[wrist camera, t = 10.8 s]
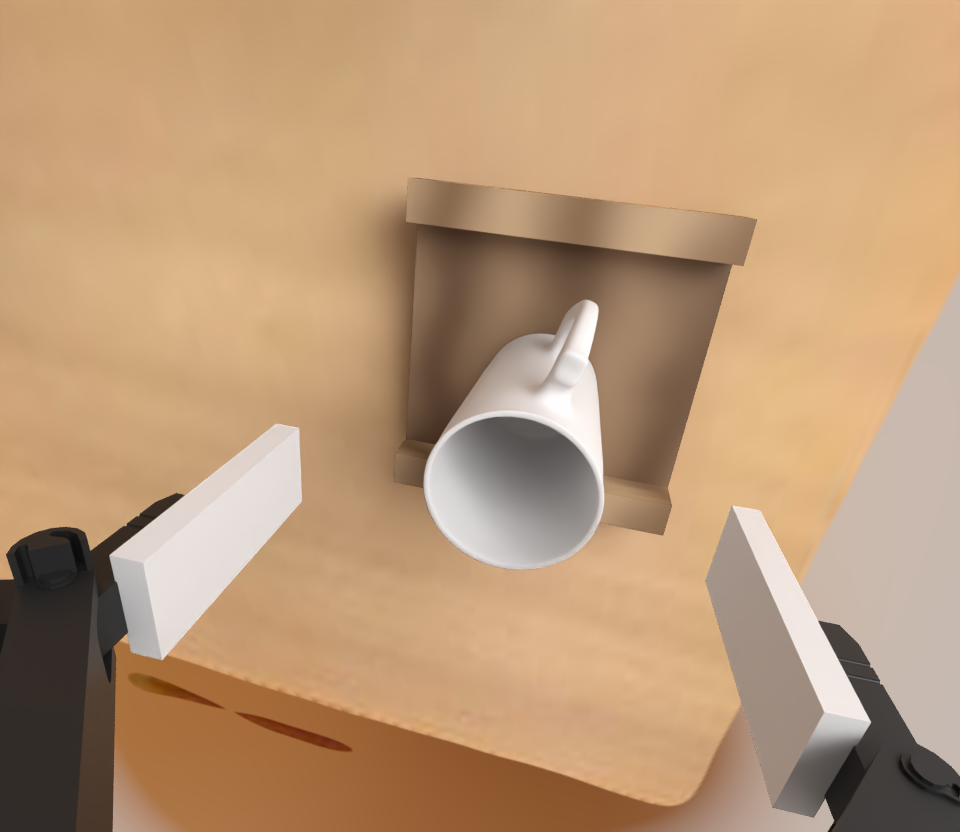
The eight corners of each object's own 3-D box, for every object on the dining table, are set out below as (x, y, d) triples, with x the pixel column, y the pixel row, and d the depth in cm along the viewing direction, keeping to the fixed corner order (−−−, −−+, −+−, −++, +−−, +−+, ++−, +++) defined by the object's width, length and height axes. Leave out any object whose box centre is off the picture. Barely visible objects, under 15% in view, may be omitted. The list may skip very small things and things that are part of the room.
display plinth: (416, 449, 37) (394, 482, 33) (433, 178, 30) (407, 177, 26) (655, 494, 35) (663, 535, 31) (733, 214, 28) (757, 219, 24)
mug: (568, 457, 32) (554, 596, 21) (466, 411, 32) (400, 525, 22) (654, 302, 28) (690, 379, 17) (535, 249, 28) (495, 291, 17)
